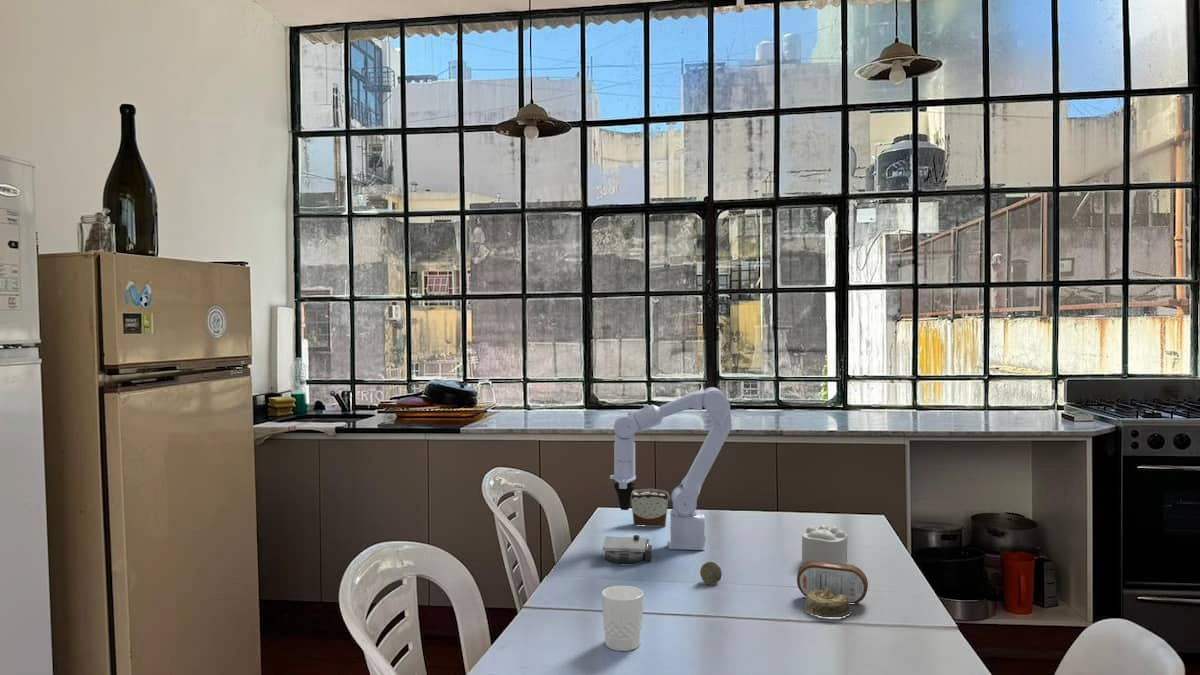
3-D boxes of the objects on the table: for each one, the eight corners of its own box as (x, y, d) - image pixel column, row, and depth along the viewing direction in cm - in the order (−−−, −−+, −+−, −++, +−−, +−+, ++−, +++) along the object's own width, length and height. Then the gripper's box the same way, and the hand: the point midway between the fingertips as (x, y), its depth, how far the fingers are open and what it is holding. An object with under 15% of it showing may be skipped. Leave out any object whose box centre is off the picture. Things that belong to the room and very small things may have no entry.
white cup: (600, 636, 155) (600, 586, 154) (640, 634, 155) (640, 584, 155) (604, 653, 147) (603, 600, 146) (645, 652, 147) (645, 599, 147)
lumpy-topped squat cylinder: (797, 565, 198) (798, 531, 198) (812, 551, 209) (812, 519, 209) (839, 572, 193) (839, 537, 192) (852, 558, 204) (852, 524, 203)
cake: (844, 627, 161) (844, 601, 160) (796, 617, 166) (795, 593, 166) (856, 607, 169) (856, 583, 169) (810, 599, 175) (810, 576, 174)
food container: (670, 521, 240) (670, 488, 239) (670, 526, 234) (670, 493, 233) (630, 520, 241) (630, 488, 241) (628, 525, 235) (628, 492, 235)
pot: (652, 549, 212) (652, 537, 211) (650, 569, 195) (650, 556, 195) (607, 547, 213) (607, 536, 213) (601, 567, 196) (601, 555, 196)
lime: (723, 582, 185) (723, 561, 185) (711, 588, 182) (712, 566, 182) (708, 578, 188) (708, 557, 188) (696, 583, 185) (696, 562, 185)
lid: (649, 540, 208) (649, 534, 208) (648, 552, 198) (648, 545, 198) (606, 539, 209) (606, 533, 209) (602, 550, 200) (602, 544, 199)
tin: (867, 603, 172) (868, 565, 172) (867, 608, 169) (867, 569, 169) (797, 595, 177) (797, 557, 177) (795, 599, 174) (796, 562, 174)
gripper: (612, 454, 222) (612, 502, 222) (607, 464, 208) (607, 515, 208) (637, 455, 221) (637, 503, 222) (634, 465, 207) (634, 516, 207)
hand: (624, 509), depth 215 cm, fingers closed
